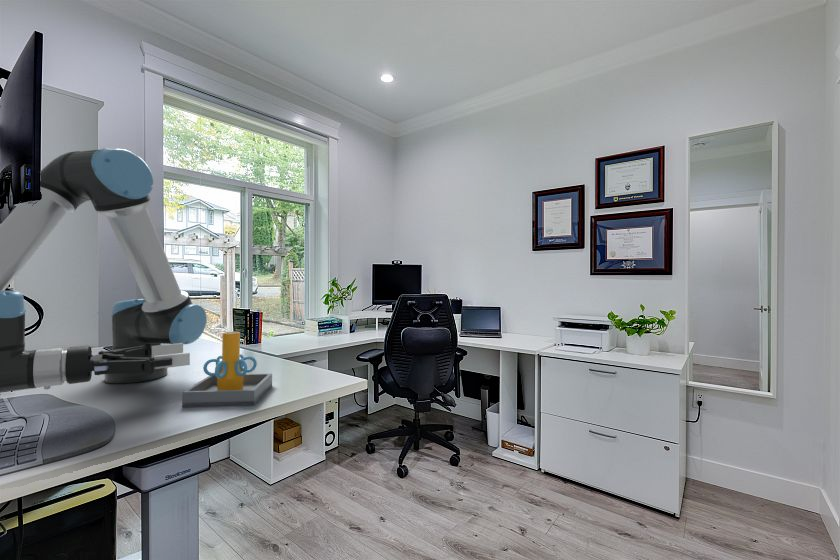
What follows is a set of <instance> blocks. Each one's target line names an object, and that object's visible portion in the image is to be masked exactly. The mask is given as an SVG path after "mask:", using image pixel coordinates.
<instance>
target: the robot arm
mask: <svg viewBox="0 0 840 560" xmlns="http://www.w3.org/2000/svg"><path fill="white" fill-rule="evenodd" d="M39 172H40V175H41V181H40V187H41V194H42V199H41V200H40V201H38V202H37V203H36V204H34V205H33V204H28V203H27V204H25V203H20V202H19V203H20V204H19V203H18V204H17V205H16V206H15V208H14V209H13V210H12V211H11V212H10V213H9V215H8V216H7V217H6V218H5V219H4V220H3V221H2V223H0V393H1V394H2V393H10V392H15V391H23V390H24V391H25V390H30V389H37V388H43V389H44V390H50V389H51V387H55V386H62V385H63V384H65V382H66V383H67V384H68V385H72V384H73V385H74V384H80V383H81V384H82V383H87V382H90V381H91V380H92V375H93V374H94V376H101V375H104V382H105V383H109V384H131V383H133V384H134V383H139V382H146V381H150V380H151V381H152V380H156V379H160V378H162V377H165V376H166V375H168V368H176V367H186V366H190V364H191V361H190V360H191V359H190V356H191V355H190V353H191V352H184V345H190V344H193V343H194V342H196V341H197V340H198V339H199V338H200V337H202V334H203V333H204V331H205V327H206V325H207V320H208V319H207V313H206V310H205V308H204V307H203V306H201V305H199V303H198V304H197V303H193V301H192V300H191V297H190V294H189V293H188V292H187V291H185V290H181V288H180V286H179V284H178V281H177V279H176V277H175V274H174V272H173V269H172V266H171V264H170V261H169V259H168V257H167V254H166V251H165V249H164V247H163V244H162V242H161V239H160V237H159V236H158V235H159V234H158V233H157V230H156V228H155V225H154V222H153V221H152V218H151V216H150V213H149V210H148V207H149V205H150V203H151V202H152V200H151V197H150V193H151V192H152V190H153V185H154V176H153V174H152V171H151V169H150V167H149V166H148V165H147V163H146V162H145V160H144V159H142V158H141V157H140V156H139V155H137V154H135V153H134V152H132V151H130V150H127V149H124V148H110V147H109V148H104V147H103V148H100V149H92V150H91V149H90V150H79V151H78V150H77V151H69V152H66V153H63V154H61V155H59V156H58V157H56V158H54V159H53V160H51V161H50V162H49V163H47V164H46V166H44V167H43V168H42V169H41V170H40V171H39ZM88 201H90V202H91V204H92V206H93V208H94V210H95V212H96V213H98V214H100V215H103V216H105V217H106V219H107V221H108V222H109V224H110V228H111V229H112V231H113V233H114V235H115V237H116V240H117V242H118V244H119V246H120V248H121V250H122V251H121V252H122V253H123V255H124V257H125V260H126V261H127V264H128V267H129V268H130V270H131V273H132V275H133V277H134V279H135V281H136V283H137V286H138V288H139V290H140V292H141V294H142V297H143V298H138V299H130V300H129V299H128V300H121V301H116V302H114V304H113V306H112V313H111V329H112V330H111V336H112V337H111V338H112V340H111V341H112V345H111V346H112V350H101V351H99V352H98V351H97V352H98V354H96V355H95V354H94V355H93V352H92V347H91V346H90V345H80V346H70V347H68V348H67V349H65V348H64V347H54V348H42V349H32V350H26V343H25V342H26V341H25V340H26V339H25V337H26V333H25V332H26V329H25V328H26V312H27V311H26V307H25V301H24V298H25V297H24V295H23V293H22V292H21V291H17V290H6V289H7V288H8V286H9V285H10V284H11V283H12V282H13V280H14V279H16V278H15V277H16V276H18V274H19V273H20V271H21V270H22V269H23V268H24V267H25V265H26V264H27V263H28V262H29V260H30V259H31V258H32V256H33V255H34V254H35V253H36V252H37V250H38V249H39V247H40V246H41V245H42V244H43V243H44V242H45V240H46V239H47V238H48V237H49V235H50V234H51V232H52V231H53V230H54V229H55V228H56V226H57V225H59V223H60V222H61V220H62V219H63V218H64V216H65V215H72V214H73V213H74V212H75V211H76V209H78V208H79V207H80V206H81V205H82V204H84V203H85V202H88ZM32 205H33V206H32ZM93 372H94V373H93Z"/></svg>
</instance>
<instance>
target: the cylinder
mask: <svg viewBox="0 0 840 560" xmlns="http://www.w3.org/2000/svg"><path fill="white" fill-rule="evenodd" d="M221 336H222V343H221V344H222V347H221V355H219V356H217V358H211V359H208V360H207V361H206V362H205V363H204V364H203V367H202V368H203V372H204V374H206V375H207V376H215V375H216V377H217V390H243V379H244V375H245V374H250V373H252V372H253V371H254V370H255V369H256V368H257V366H258V362H257V359H256V358H255V357H253V356H249V355H248V356H247V355H246V356H244V355H243V354H241V348H240V347H241V332H240V331H225V332H222V335H221ZM246 360H251V361H252V362H253V366H252V367H251V368H248V364H247V361H246ZM212 363H215V367H214V372H210V371H209V369H208V366H209V364H212Z"/></svg>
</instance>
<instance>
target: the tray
mask: <svg viewBox="0 0 840 560" xmlns="http://www.w3.org/2000/svg"><path fill="white" fill-rule="evenodd" d="M272 387H273V373H246V374H245V375H244V379H243V390H217V377H216V375H215V376H209V375H207V377H204V378H203V379H202V380H199V381H198V382H197V383H195V384H193V385H192V386H190V387H189V388H187V389H185V390H183V391H182V392H181V394H182V395H181V397H182V399H181V402H182V403H181V408H202V407H203V408H205V407H207V408H208V407H209V408H210V407H241V406H243V407H244V406H255V405H256V404H257V403H258V402H259V401H260V400H261V399H262V397H264V396H265V394H267V393H268V392H269V390H270V389H272Z"/></svg>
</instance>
